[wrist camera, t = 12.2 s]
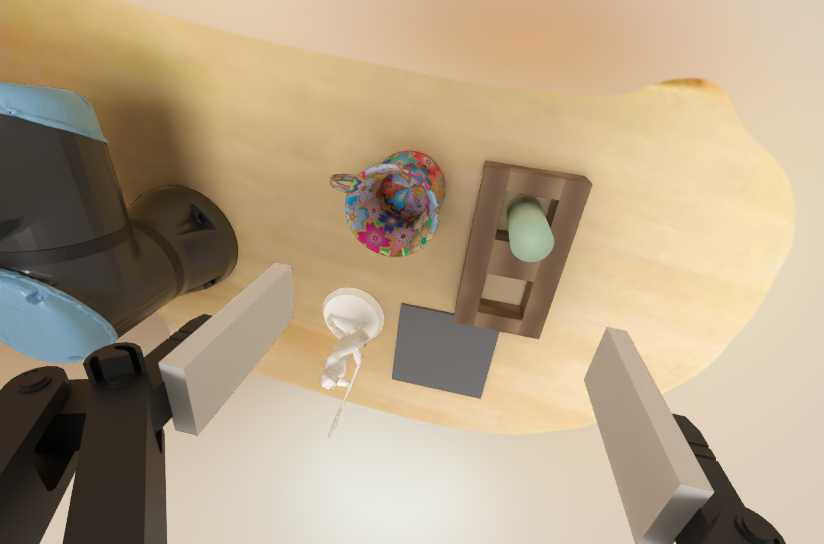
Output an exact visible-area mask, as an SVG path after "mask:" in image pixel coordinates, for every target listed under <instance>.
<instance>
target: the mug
mask: <svg viewBox="0 0 824 544" xmlns="http://www.w3.org/2000/svg"><path fill="white" fill-rule="evenodd" d="M337 181H351V182H352V184H351V186H347V185H344V184H341V183H339V182H337ZM329 183H330V185H331V186H332V187H334V188H335V189H337V190H339V191H342V192H345V193H347V196H346V202H345V212H346V218H347V221H348V224H349V226H350V228H351V230H352V232H353V234H354V235H355V236H356V238H357V239H358V240H359V241H360V242H361V243H362V244H363V245H364V246H366V247H367V248H369V249H370V250H372V251H374V252H376V253H379V254H381V255H385V256H392V257H399V256H406V255H409V254H412V253H415V252H417V251H419V250H420V249H422V248H423V247H424V246H425V245H426V244H427V243H428V242H429V241H430V240H431V238H432V237H433V235H434V233H435V231H436V228H437V225H438V220H439V207H440V205H441V203H442V201H443V198H444V194H445V183H444V179H443V176H442V173H441V171H440V169H439V168H438V166H437V165H436V164H435V163H434V162H433V161H432V160H431V159H430V158H428V157H427V156H425V155H423V154H420V153H417V152H412V151H404V152H399V153H396V154H393V155H392V156H390V157H388V158H387V159H386V160H385V161H384V162H383V163H382V164H380V165H376V166H373V167H370V168H368V169H366V170H365V171H363V172H362V173H361V174H359V175H358V176H357V175H349V174H336V175H332V176H331V177H330V180H329Z"/></svg>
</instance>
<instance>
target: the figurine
mask: <svg viewBox="0 0 824 544" xmlns="http://www.w3.org/2000/svg"><path fill="white" fill-rule="evenodd" d="M323 316H324V319H325V322H326V324H327V326H328V327H329V329H330V330H331V331H332V332H333V334H334V335H336V337H337V338H339V339H340V341H339V342H338V343H336V344H335V345H334V349H333V353H331V354H330V355H329V356H328V358H327V361H326V363H325V368H324V370H325V371H324V372H323V373H322V374H321V377H320V379H321V386H323V387H324V388H325V389H330V388H332V387H333V386H334V387H333V389H334V388H335V386H336V385H338V386H344V387H348V388H347V392H346V394H345V396H344V399H343V401H342V404H341V406H340V409H339V411H338V413H337V415H336V417H335V420H334V422H333V424H332V427H331V429H330V432H329V436H328V438H329V437H331V435H332V433H333V431H334V429H335V426H336V424H337V421H338V419H339V416H340V413H341V411H342V408H343V406H344V403H345V401H346V398H347V396H348V394H349V391H350V389H351V388H352V386H353V381H354V379H355V377H356V374H357V372H358V369H359V367H361V365H362V363H361V362H362V361H363V355H362V357H361V351H360V348H362V347H364V346H365V345H366V343H367V342H369V340H371V339H373V338H374V337H376V336H377V335H378V334H379V333H380V332H381V330H382V328H383V325H384V314H383V311H382V308H381V306H380V305H379V303H378V302H377V301H376V300H375V299H374V298H373V297H372V296H371V295H369V294H368V293H366V292H364V291H362V290H359V289H356V288H350V287H347V288H340V289H337V290H335V291H333V292H331V293H330V294H329V295H328V296H327V297H326V299H325V301H324V303H323ZM352 355H353V357H354V359H355V362H356V364H357V365H356V366H357V367H356V370H355V372H354V375H353V377H352V379H351V381H349V380H347V379H344V378H342V377H343V376H344V375H345V373H346V362H347V361H348V360H349V359H350V358H351V356H352Z"/></svg>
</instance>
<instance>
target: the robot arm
mask: <svg viewBox="0 0 824 544" xmlns="http://www.w3.org/2000/svg"><path fill="white" fill-rule="evenodd" d="M107 144H109V142H108V139H107V138H106V137H104V135H103V132H102V129H101V127H100V124H99V121H98V118H97V115H96V113H95V110H94V108H93V106H92V104H91V103H90V102H89V101H88V100H87V99H86V98H85V97H84V96H82V95H81V94H79V93H77V92H75V91H72V90H68V89H62V88H54V87H45V86H37V85H28V84H19V83H10V82H1V81H0V341H2V342H4V343H5V344H6V345H8V346H10V347H11V348H13V349H15V350H17V351H19V352H21V353H23V354H25V355H28V356H30V357H33V358H35V359H38V360H41V361H46V362H51V363H60V364H66V363H74V362H78V361H81V360H84V359H85V361H84V363H83V365H84V368H85V370H86V373H87V376H88V379H78V380H77V379H76V380H68V377H67V375H66V373H65V371H64V369H62V368H59V367H57V366H56V367H55V366H46V367H40V368H35V369H32V370H29V371H26V372H24V373H22V374H20V375H18V376H16V377H14V378H13V379H11V380H10V381H9V382H8V383H7V384H6V385H4V387H3V388H2V389H1V390H0V544H39V543H40V541H41V539H42V537H43V535H44V533H45V531H46V529H47V527H48V525H49V523H50V521H51V519H52V517H53V515H54V513H55V511H56V509H57V507H58V505H59V503H60V501H61V499H62V497H63V495H64V493H65V491H66V489H67V487H68V485H69V483H70V481H71V479H72V477H73V475H74V473H75V471H76V473H75V479H74V484H73V490H72V496H71V500H70V506H69V511H68V517H67V523H66V528H65V533H64V539H63V544H167V524H166V523H167V521H166V480H165V479H166V477H165V434H164V430H163V426H164V425H165V424H166V423H167V422H168V421H169V420H170V419H171V418H172V419H173V423H174V427H175V430H177V431H181V432H185V433H189V434H193V435H197V436H198V435H199V434H200V432H201V431H202V430H203V429H204V428H205V426H206V425H207V424H208V423H209V421H210V420H211V419H212V418H213V417H214V415H215V414H216V413H217V412H218V410H219V409H220V408H221V406H222V405H223V404H224V403H225V402H226V401H227V399H228V398H229V397H230V396H231V394H232V393H233V392H234V391H235V390H236V388H237V387H238V386H239V385H240V384H241V382H242V381H243V380H244V378H245V377H246V376H247V375H248V374H249V372H250V371H251V370H252V369H253V368H254V366H255V365H256V364H257V363H258V361H259V360H260V359H261V358H262V357H263V355H264V354H265V353H266V352H267V350H268V349H269V348H270V347H271V346H272V344H273V343H274V342H275V341H276V339H277V338H278V337H279V336H280V335H281V333H282V332H283V331H284V330H285V328H286V327H287V326H288V325H289V324H290V322H291V321H292V320H293V319H294V306H293V276H292V265H286V264H281V263H276V262H275V263H274V264H273V265H272V266H271V267H269V268H268V269H267V270H266V271H265V272H264V273H262V274H261V275H260V276H259V277H258V278H257V279H255V280H254V281H253V282H252V283H251V284H250V285H248V286H247V287H246V288H245V289H244V290H243V291H241V292H240V293H239V294H238V295H237V296H236V297H234V298H233V299H232V300H231V301H230V302H229V303H227V304H226V305H225V306H224V307H223V308H222V309H220V310H219V311H218V312H217V313H216V314H215V315H213V316H211V315H206V314H204V315H201V316H199V317H197V318H195V319H192V320H190V321H189V322H187V323H186V324H185V325H184V326H183V327H181V328H180V329H179V331H178V332H177V331H176V332H175V333H174V334H173V335H171V336H170V338H169V339H166V340H165V341H164V342H163V343H161V344H160V345H159V346H158V347H157V348H156V349H154V350H153V351H152V352H150V353H149V354H148V355H147V356H145V357H143V353H142V350H141V348H140V346H138V345H136V344H134V343H128V342H124V343H114V342H115V341H116V340H117V339H118V338H119V337H121V336H122V335H124V334H125V333H126V332H128V331H129V330H131V329H132V328H133V327H135V326H136V325H138V324H139V323H140V322H141V321H143V320H145V319H146V318H147V317H149V316H150V315H152V314H153V313H154V312H156V311H157V310H159V309H160V308H161V307H163V306H164V305H166V304H167V303H168V302H170V301H171V300H173V299H174V298H176V297H177V296H181V295H185V294H189V293H193V292H196V291H200V290H204V289H207V288H210V287H212V286H214V285H216V284H218V283H219V282H220V281H222V280H223V279H224V278H226V277H227V276H228V275H229V274H230V273H231V272H232V270H233V268H234V266H235V264H236V260H237V243H236V239H235V235H234V233H233V230H232V228H231V226H230V224H229V222H228V221H227V219H226V218H225V216H224V215H223V213H222V212H221V211H220V210H219V209H218V208H217V207H216V206H215V205H214V204H213V203H212V202H211V201H210V200H208V199H207V198H206V197H204V196H203V195H201V194H199V193H197V192H195V191H193V190H191V189H188V188H185V187H181V186H163V187H160V188H157V189H154V190H151V191H148V192H146V193H144V194H142V195H141V196H139V197H138V198H137V199H136V200H135V201H134V202H133V203H132V204H131V205H130V206H129V207H128V208H127V209H126V206H125V202H124V199H123V196H122V192H121V189H120V186H119V183H118V179H117V176H116V173H115V169H114V166H113V163H112V159H111V156H110V153H109V149H108V146H107ZM113 343H114V344H113ZM584 381H585V385H586V388H587V391H588V394H589V397H590V401H591V404H592V407H593V410H594V413H595V417H596V420H597V423H598V426H599V429H600V432H601V436H602V439H603V442H604V445H605V448H606V452H607V455H608V458H609V461H610V464H611V468H612V471H613V474H614V477H615V480H616V484H617V487H618V490H619V493H620V496H621V499H622V503H623V506H624V509H625V512H626V516H627V519H628V522H629V525H630V528H631V531H632V535H633V538H634V541H635V544H673V543H674V542H676V544H786V543H785V541H784V539H783V537H782V536H781V535H780V534H779V533H778V531H777V530H776V529H775V528H774V527H773V526H772V525H771V524H770V523H769V522H768V521H767V520H765V519H764V518H763V517H761V516H760V515H759V514H757V513H755V512H754V511H752V510H750V509H748V508H746V507H745V506H744V504H743V503H742V501H741V499H740V498H739V496H738V494H737V493H736V491H735V489H734V488H733V486H732V484H731V483H730V481H729V479H728V477H727V476H726V474H725V473H724V471H723V469H722V467H721V466H720V464H719V463H718V461H716V457H715V456H714V454H713V452H712V451H711V449H709V448H708V447H709V446H708V444H707V442H706V441H705V439H704V437H703V436H702V434H701V432H700V431H699V430H698V429H697V428H696V427H695V426H694V425H693V424H692V423H691V422H690V421H689V420H688V419H687V418H686V417H685V416H680V415H676V414H672V413H671V412H670V409H669V408H668V406H667V404H666V402H665V400H664V398H663V397H662V395H661V393H660V391H659V389H658V387H657V386H656V384H655V382H654V380H653V378H652V376H651V374H650V373H649V371H648V369H647V367H646V365H645V363H644V362H643V360H642V358H641V356H640V354H639V352H638V351H637V349H636V347H635V345H634V343H633V341H632V340H631V338H630V336H629V334H628V332H627V331H624V330H619V329H614V328H609V327H607V328H606V330H605V332H604V335H603V337H602V339H601V341H600V344H599V346H598V348H597V351H596V353H595V355H594V357H593V360H592V362H591V364H590V366H589V369H588V371H587V373H586V376H585V378H584Z"/></svg>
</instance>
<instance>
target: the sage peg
mask: <svg viewBox="0 0 824 544" xmlns="http://www.w3.org/2000/svg"><path fill="white" fill-rule="evenodd" d="M506 214H507V223H508V231H509V240H510V247H511V251H512V253H513V254H514V255H515V256H516V257H517V258H518V259H520V260H522V261H525V262H537V261H540V260H542V259H544V258H545V257H547V256H548V255H549V254H550V252H551V251H552V249H553V246H554V237H553V234H552V232H551V229H550V227H549V224H548V222H547V219H546V217H545V214H544V212H543V209H542V207H541V205H540V203H539V201H538V200H537V199H536V198H535V197H533V196H529V195H520V196H517V197H515V198H514V199H512V200H511V201H510V203H509V204H508V206H507V210H506Z"/></svg>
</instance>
